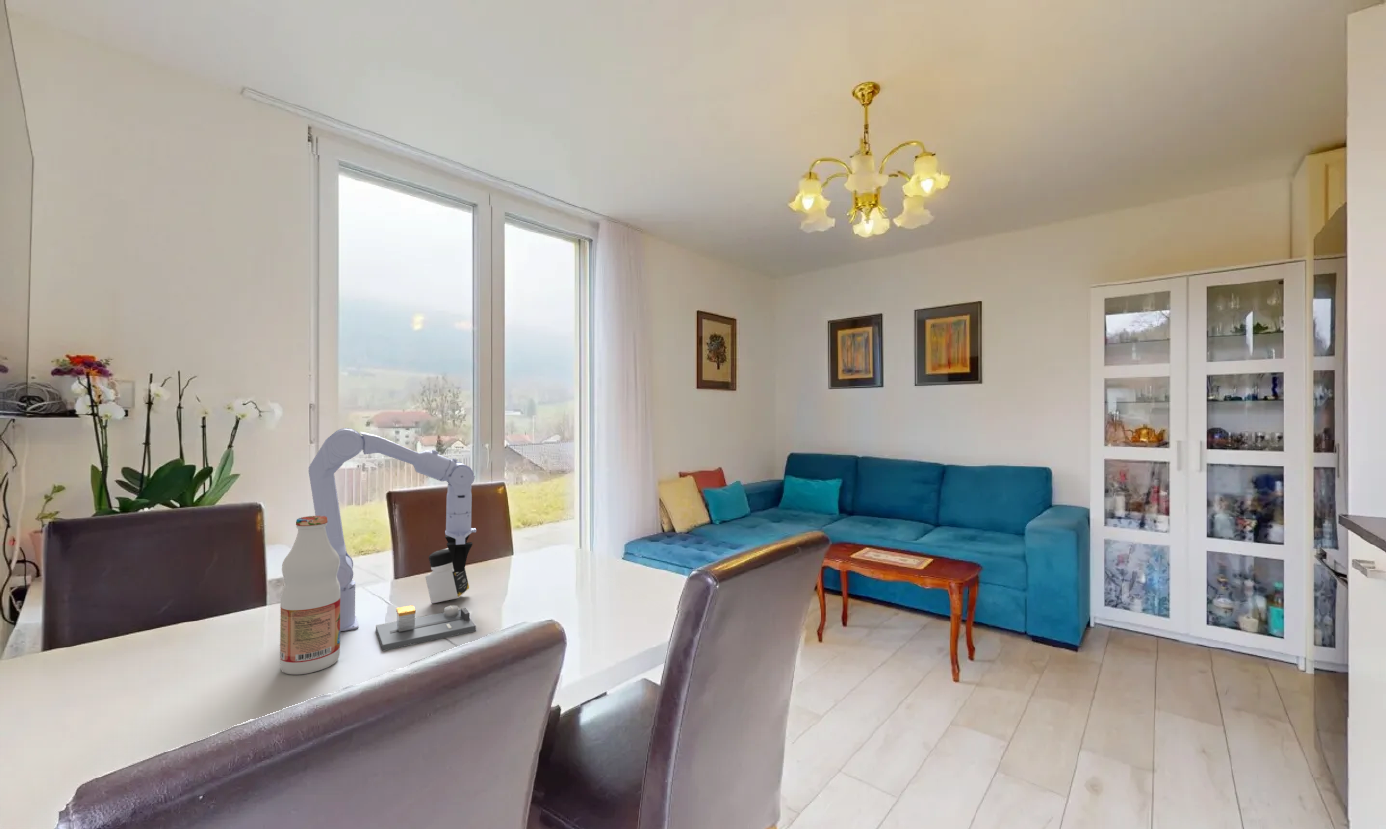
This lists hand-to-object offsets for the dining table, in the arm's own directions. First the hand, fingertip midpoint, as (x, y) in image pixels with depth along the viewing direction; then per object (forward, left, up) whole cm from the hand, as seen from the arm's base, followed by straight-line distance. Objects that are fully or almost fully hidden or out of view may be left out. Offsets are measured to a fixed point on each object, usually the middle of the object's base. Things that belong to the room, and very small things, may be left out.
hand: (457, 567), depth 136 cm
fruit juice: (-30, -16, -10) cm, 36 cm away
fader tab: (-13, -11, -8) cm, 19 cm away
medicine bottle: (0, +7, -9) cm, 11 cm away
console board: (-9, -11, -10) cm, 18 cm away
